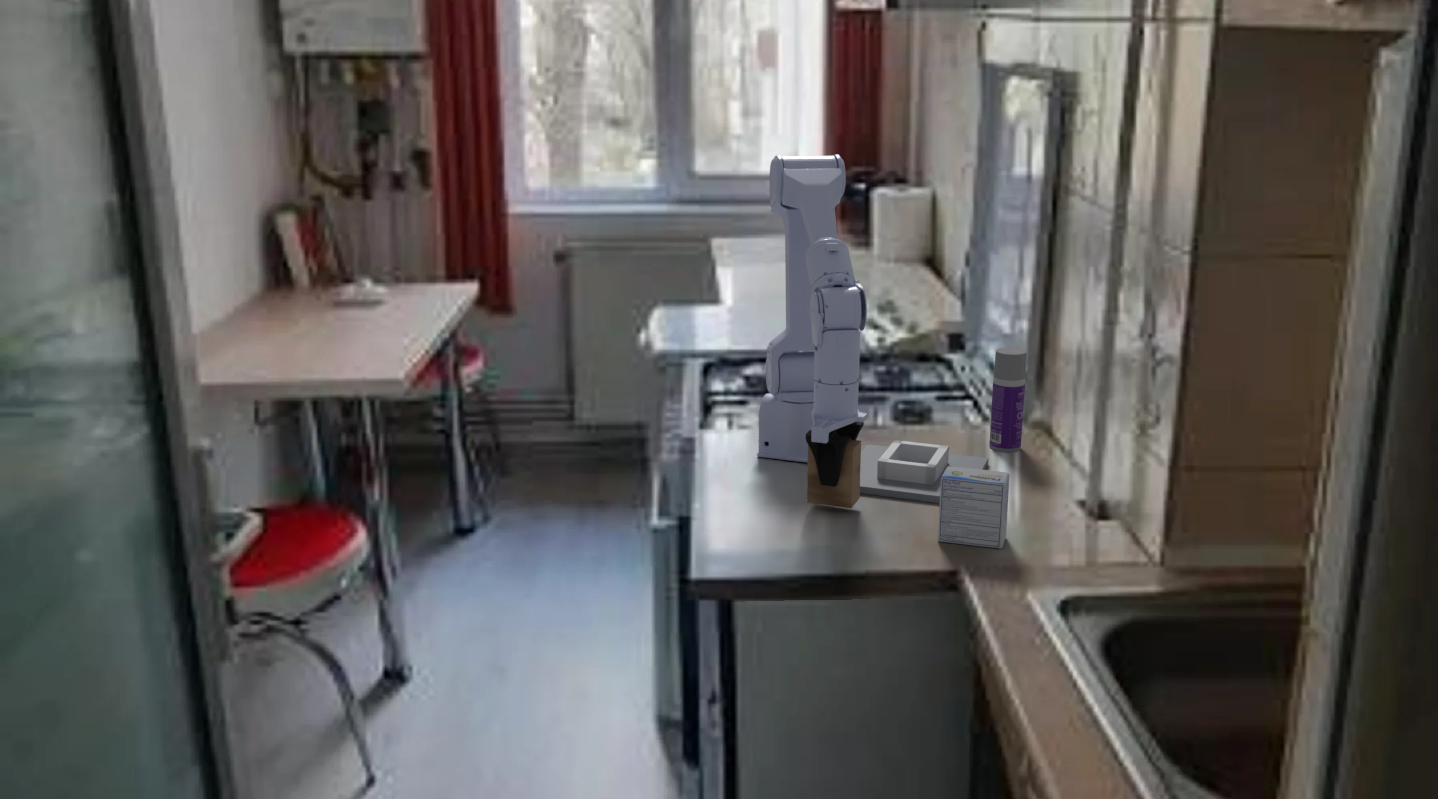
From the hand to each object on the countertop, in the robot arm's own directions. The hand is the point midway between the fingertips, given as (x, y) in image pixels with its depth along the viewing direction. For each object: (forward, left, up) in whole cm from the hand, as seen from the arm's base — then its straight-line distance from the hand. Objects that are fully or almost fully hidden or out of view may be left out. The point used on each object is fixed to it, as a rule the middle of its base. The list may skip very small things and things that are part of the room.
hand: (833, 479), depth 166 cm
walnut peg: (0, 0, -3) cm, 3 cm away
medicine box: (+19, -4, -4) cm, 20 cm away
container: (+17, +34, -4) cm, 38 cm away
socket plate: (+7, +16, -4) cm, 18 cm away
